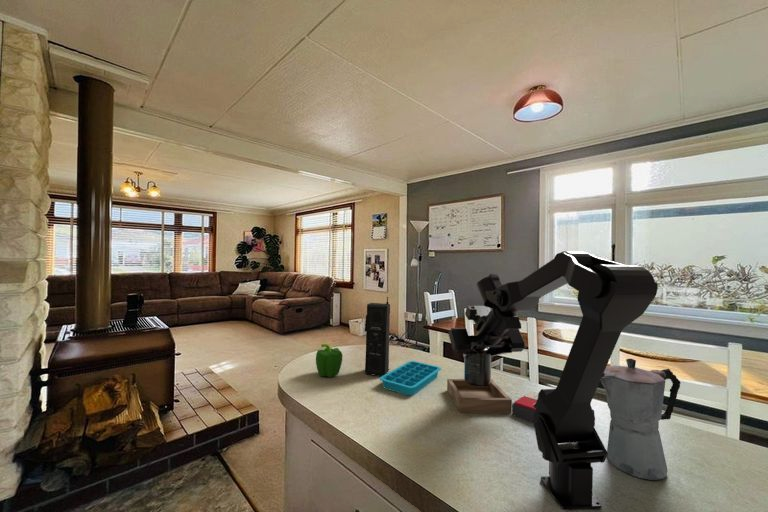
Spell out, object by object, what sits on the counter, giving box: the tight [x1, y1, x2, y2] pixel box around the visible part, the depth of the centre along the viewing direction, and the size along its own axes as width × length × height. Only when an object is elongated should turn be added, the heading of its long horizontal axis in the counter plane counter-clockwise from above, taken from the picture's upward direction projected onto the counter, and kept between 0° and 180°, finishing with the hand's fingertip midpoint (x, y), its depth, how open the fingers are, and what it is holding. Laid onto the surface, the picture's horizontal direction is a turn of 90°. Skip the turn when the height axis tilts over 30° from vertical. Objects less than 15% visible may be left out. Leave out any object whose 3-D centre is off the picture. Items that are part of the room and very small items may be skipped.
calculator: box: [511, 390, 596, 426], centre depth 75 cm, size 11×4×15 cm
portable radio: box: [364, 296, 391, 376], centre depth 103 cm, size 8×6×25 cm
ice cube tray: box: [379, 360, 442, 396], centre depth 96 cm, size 12×20×3 cm, turn 146°
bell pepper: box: [315, 343, 343, 378], centre depth 100 cm, size 8×8×10 cm
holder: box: [446, 378, 513, 414], centre depth 84 cm, size 13×13×3 cm
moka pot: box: [600, 358, 681, 481], centre depth 59 cm, size 10×15×20 cm, turn 94°
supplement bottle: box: [463, 334, 492, 387], centre depth 84 cm, size 7×7×12 cm
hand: (475, 355), depth 85 cm, fingers closed on supplement bottle, 6 cm apart
